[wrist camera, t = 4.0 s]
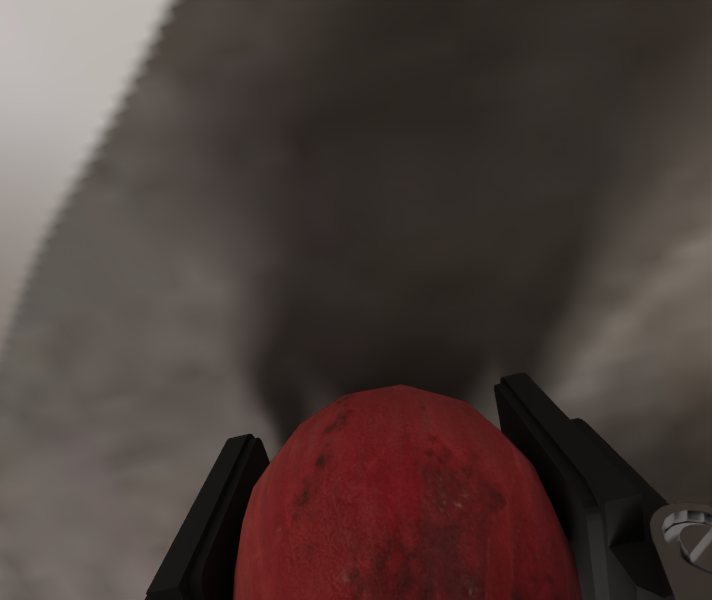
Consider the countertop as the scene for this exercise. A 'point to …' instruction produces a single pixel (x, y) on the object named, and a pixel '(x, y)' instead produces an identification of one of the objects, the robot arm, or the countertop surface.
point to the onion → (402, 509)
